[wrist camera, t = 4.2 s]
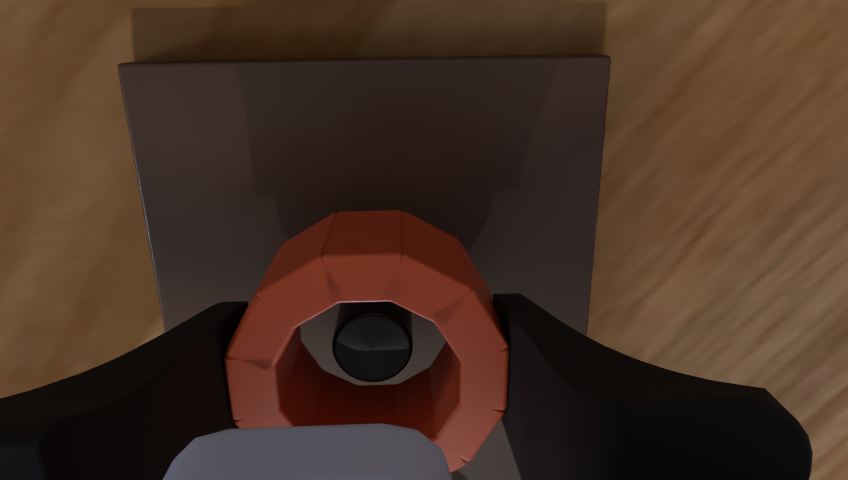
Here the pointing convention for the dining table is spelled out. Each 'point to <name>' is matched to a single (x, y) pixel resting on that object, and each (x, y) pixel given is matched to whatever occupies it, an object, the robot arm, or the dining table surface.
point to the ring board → (372, 185)
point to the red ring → (372, 282)
